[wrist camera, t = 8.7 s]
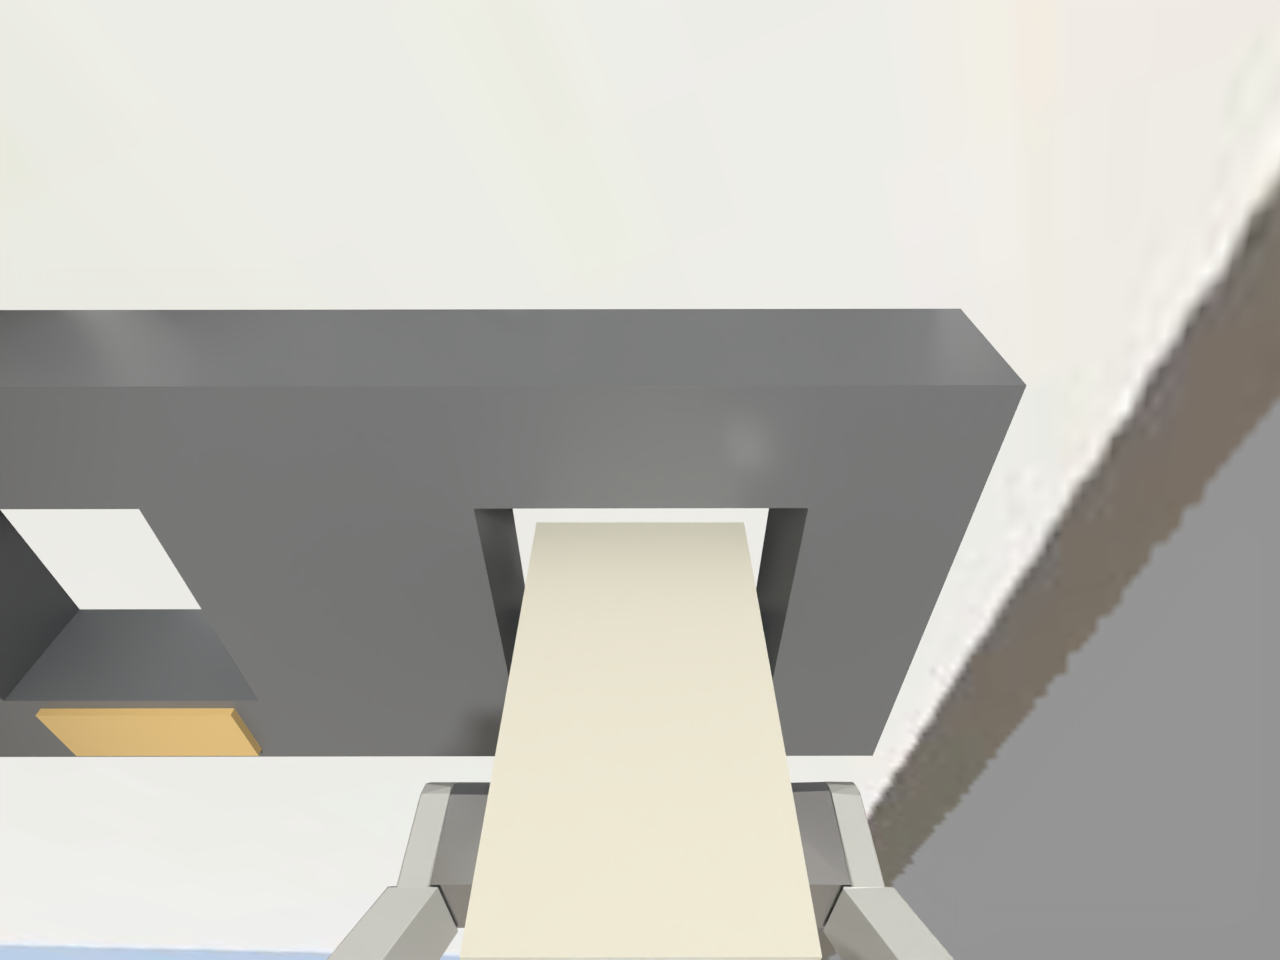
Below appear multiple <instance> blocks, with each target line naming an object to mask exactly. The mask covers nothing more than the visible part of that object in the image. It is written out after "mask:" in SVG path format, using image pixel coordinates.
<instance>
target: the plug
mask: <svg viewBox="0 0 1280 960" xmlns="http://www.w3.org/2000/svg"><path fill="white" fill-rule="evenodd" d="M459 958H460V960H821V959H822V953H821V947H820V942H819V936H818V931H817V925H816V920H815V914H814V909H813V903H812V897H811V892H810V886H809V881H808V875H807V870H806V864H805V859H804V853H803V847H802V842H801V836H800V831H799V825H798V820H797V814H796V809H795V803H794V797H793V792H792V786H791V781H790V775H789V770H788V764H787V759H786V753H785V747H784V742H783V736H782V731H781V725H780V720H779V714H778V709H777V703H776V697H775V692H774V686H773V681H772V675H771V670H770V664H769V659H768V653H767V647H766V642H765V636H764V631H763V625H762V620H761V614H760V609H759V603H758V597H757V592H756V586H755V581H754V575H753V570H752V564H751V559H750V553H749V547H748V542H747V536H746V531H745V525H744V522H536V528H535V533H534V539H533V545H532V550H531V556H530V562H529V567H528V573H527V578H526V584H525V590H524V595H523V601H522V607H521V612H520V618H519V624H518V629H517V635H516V641H515V646H514V652H513V657H512V663H511V669H510V674H509V680H508V686H507V691H506V697H505V703H504V708H503V714H502V719H501V725H500V731H499V736H498V742H497V748H496V753H495V759H494V765H493V770H492V776H491V782H490V787H489V793H488V798H487V804H486V810H485V815H484V821H483V827H482V832H481V838H480V844H479V849H478V855H477V860H476V866H475V872H474V877H473V883H472V889H471V894H470V900H469V906H468V911H467V917H466V923H465V928H464V934H463V939H462V945H461V951H460V956H459Z"/></svg>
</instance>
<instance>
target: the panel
mask: <svg viewBox="0 0 1280 960" xmlns="http://www.w3.org/2000/svg"><path fill="white" fill-rule="evenodd" d="M1025 388H1026V384H1025V383H1024V382H1023V380H1022V379H1021V378H1020V377H1019V376H1018V375H1017V373H1016V372H1015V371H1014V370H1013V369H1012V368H1011V367H1010V365H1009V364H1008V363H1007V362H1006V361H1005V360H1004V358H1003V357H1002V356H1001V355H1000V354H999V353H998V351H997V350H996V349H995V348H994V347H993V346H992V345H991V343H990V342H989V341H988V340H987V339H986V338H985V336H984V335H983V334H982V333H981V332H980V331H979V329H978V328H977V327H976V326H975V325H974V324H973V323H972V321H971V320H970V319H969V318H968V317H967V316H966V314H965V313H964V312H963V311H962V310H961V309H369V310H0V509H139V510H140V511H141V513H142V515H143V516H144V518H145V519H146V521H147V523H148V524H149V526H150V527H151V529H152V531H153V532H154V534H155V535H156V537H157V539H158V540H159V542H160V543H161V545H162V547H163V548H164V550H165V551H166V553H167V555H168V556H169V558H170V559H171V561H172V563H173V564H174V566H175V567H176V569H177V571H178V572H179V574H180V575H181V577H182V579H183V580H184V582H185V583H186V585H187V587H188V588H189V590H190V592H191V593H192V595H193V596H194V598H195V600H196V601H197V603H198V604H199V606H200V608H201V609H79V608H78V607H77V605H76V604H75V603H74V602H73V600H72V599H71V598H70V597H69V595H68V594H67V593H66V592H65V590H64V589H63V588H62V586H61V585H60V584H59V583H58V581H57V580H56V579H55V578H54V576H53V575H52V574H51V573H50V571H49V570H48V569H47V568H46V566H45V565H44V564H43V563H42V561H41V560H40V559H39V558H38V556H37V555H36V554H35V553H34V551H33V550H32V549H31V548H30V546H29V545H28V544H27V543H26V541H25V540H24V539H23V538H22V536H21V535H20V534H19V533H18V531H17V530H16V529H15V528H14V526H13V525H12V524H11V523H10V521H9V520H8V519H7V518H6V516H5V515H4V514H3V513H2V511H1V510H0V757H357V756H495V753H496V748H497V742H498V736H499V731H500V725H501V719H502V714H503V708H504V703H505V697H506V691H507V686H508V680H509V674H510V669H511V663H512V657H513V652H514V646H515V641H516V635H517V629H518V624H519V618H520V612H521V607H522V601H523V595H524V590H525V583H524V577H523V570H522V564H521V558H520V552H519V545H518V539H517V533H516V527H515V520H514V514H513V509H554V508H769V511H768V517H767V524H766V530H765V536H764V543H763V549H762V555H761V562H760V568H759V574H758V580H757V587H756V592H757V597H758V603H759V609H760V614H761V620H762V625H763V631H764V636H765V642H766V647H767V653H768V659H769V664H770V670H771V675H772V681H773V686H774V692H775V697H776V703H777V709H778V714H779V720H780V725H781V731H782V736H783V742H784V747H785V753H786V756H873V754H874V752H875V749H876V747H877V744H878V742H879V739H880V737H881V735H882V732H883V730H884V727H885V725H886V723H887V720H888V718H889V715H890V713H891V711H892V708H893V706H894V703H895V701H896V699H897V696H898V694H899V691H900V689H901V686H902V684H903V682H904V679H905V677H906V674H907V672H908V670H909V667H910V665H911V662H912V660H913V658H914V655H915V653H916V650H917V648H918V646H919V643H920V641H921V638H922V636H923V634H924V631H925V629H926V626H927V624H928V621H929V619H930V617H931V614H932V612H933V609H934V607H935V605H936V602H937V600H938V597H939V595H940V593H941V590H942V588H943V585H944V583H945V581H946V578H947V576H948V573H949V571H950V568H951V566H952V564H953V561H954V559H955V556H956V554H957V552H958V549H959V547H960V544H961V542H962V540H963V537H964V535H965V532H966V530H967V528H968V525H969V523H970V520H971V518H972V516H973V513H974V511H975V508H976V506H977V503H978V501H979V499H980V496H981V494H982V491H983V489H984V487H985V484H986V482H987V479H988V477H989V475H990V472H991V470H992V467H993V465H994V463H995V460H996V458H997V455H998V453H999V451H1000V448H1001V446H1002V443H1003V441H1004V438H1005V436H1006V434H1007V431H1008V429H1009V426H1010V424H1011V422H1012V419H1013V417H1014V414H1015V412H1016V410H1017V407H1018V405H1019V402H1020V400H1021V398H1022V395H1023V393H1024V390H1025Z"/></svg>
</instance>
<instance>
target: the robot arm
mask: <svg viewBox="0 0 1280 960" xmlns="http://www.w3.org/2000/svg"><path fill="white" fill-rule="evenodd" d="M791 786H792V792H793V797H794V803H795V809H796V814H797V820H798V825H799V831H800V836H801V842H802V847H803V853H804V859H805V864H806V870H807V875H808V881H809V886H810V892H811V897H812V903H813V909H814V914H815V920H816V925H817V928H824V930H823V932H824V933H825V935H826V936H827V938H828V939H829V941H830V942H831V944H832V945H833V947H834V948H835V950H836V951H837V953H838V954H839V956H840V958H841V959H842V960H954V958H953V957H952V956H951V955H950V954H949V953H948V951H947V950H946V949H945V948H944V947H943V945H942V944H941V943H940V942H939V941H938V939H937V938H936V937H935V936H934V935H933V933H932V932H931V931H930V930H929V929H928V927H927V926H926V925H925V924H924V923H923V921H922V920H921V919H920V918H919V917H918V915H917V914H916V913H915V912H914V911H913V909H912V908H911V907H910V906H909V905H908V903H907V902H906V901H905V900H904V899H903V897H902V896H901V895H900V894H899V893H898V891H897V890H896V889H895V888H894V887H891V886H885V885H884V881H883V877H882V873H881V870H880V866H879V862H878V858H877V854H876V851H875V847H874V843H873V839H872V835H871V832H870V828H869V824H868V820H867V816H866V813H865V809H864V805H863V801H862V798H861V794H860V791H859V789H858V788H857V786H856V785H855V784H854V783H853V782H828V781H825V782H797V783H791ZM489 787H490V782H430V783H426V784H425V786H424V788H423V790H422V792H421V794H420V797H419V801H418V805H417V809H416V812H415V816H414V820H413V824H412V828H411V832H410V836H409V839H408V843H407V847H406V851H405V855H404V859H403V862H402V866H401V870H400V874H399V878H398V882H397V886H388V887H387V888H386V889H385V891H384V892H383V893H382V894H381V895H380V897H379V898H378V899H377V900H376V901H375V903H374V904H373V905H372V906H371V907H370V908H369V910H368V911H367V912H366V913H365V914H364V916H363V917H362V918H361V919H360V920H359V922H358V923H357V924H356V925H355V926H354V928H353V929H352V930H351V931H350V932H349V934H348V935H347V936H346V937H345V938H344V940H343V941H342V942H341V943H340V944H339V945H338V947H337V948H336V949H335V950H334V951H333V953H332V954H331V955H330V956H329V957H328V959H327V960H440V958H441V957H442V955H443V954H444V952H445V951H446V949H447V948H448V946H449V945H450V943H451V942H452V940H453V939H454V937H455V936H456V934H457V932H458V930H457V928H465V923H466V917H467V911H468V906H469V900H470V894H471V889H472V883H473V877H474V872H475V866H476V860H477V855H478V849H479V844H480V838H481V832H482V827H483V821H484V815H485V810H486V804H487V798H488V793H489Z"/></svg>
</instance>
